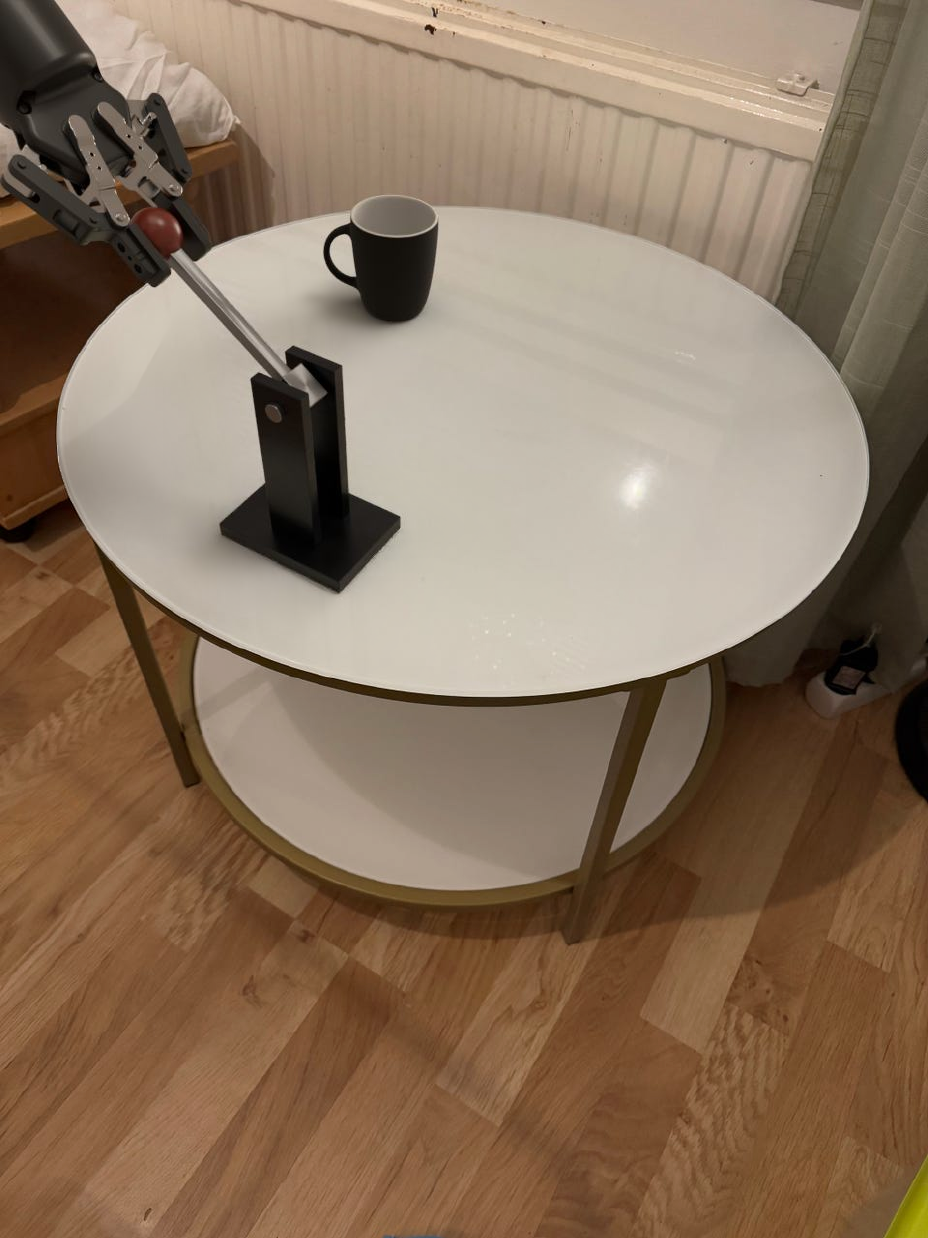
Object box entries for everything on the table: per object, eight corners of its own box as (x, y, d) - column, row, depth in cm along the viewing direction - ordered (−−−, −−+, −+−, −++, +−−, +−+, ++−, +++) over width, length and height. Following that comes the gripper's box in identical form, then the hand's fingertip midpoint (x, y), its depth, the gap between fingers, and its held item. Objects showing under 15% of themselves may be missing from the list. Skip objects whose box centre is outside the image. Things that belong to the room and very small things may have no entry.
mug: (439, 288, 102) (442, 198, 94) (430, 332, 96) (433, 240, 88) (333, 277, 102) (328, 187, 94) (318, 321, 96) (311, 228, 89)
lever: (111, 240, 62) (124, 207, 59) (147, 220, 64) (162, 187, 61) (286, 431, 66) (307, 409, 63) (316, 406, 68) (337, 383, 65)
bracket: (220, 534, 75) (187, 373, 63) (287, 475, 80) (268, 315, 68) (339, 593, 72) (329, 435, 60) (400, 527, 77) (402, 369, 65)
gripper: (-82, 18, 50) (134, 290, 56) (103, -41, 58) (274, 202, 64) (-109, 95, 55) (90, 336, 62) (63, 32, 64) (224, 249, 70)
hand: (183, 266), depth 63 cm, fingers closed on lever, 3 cm apart
